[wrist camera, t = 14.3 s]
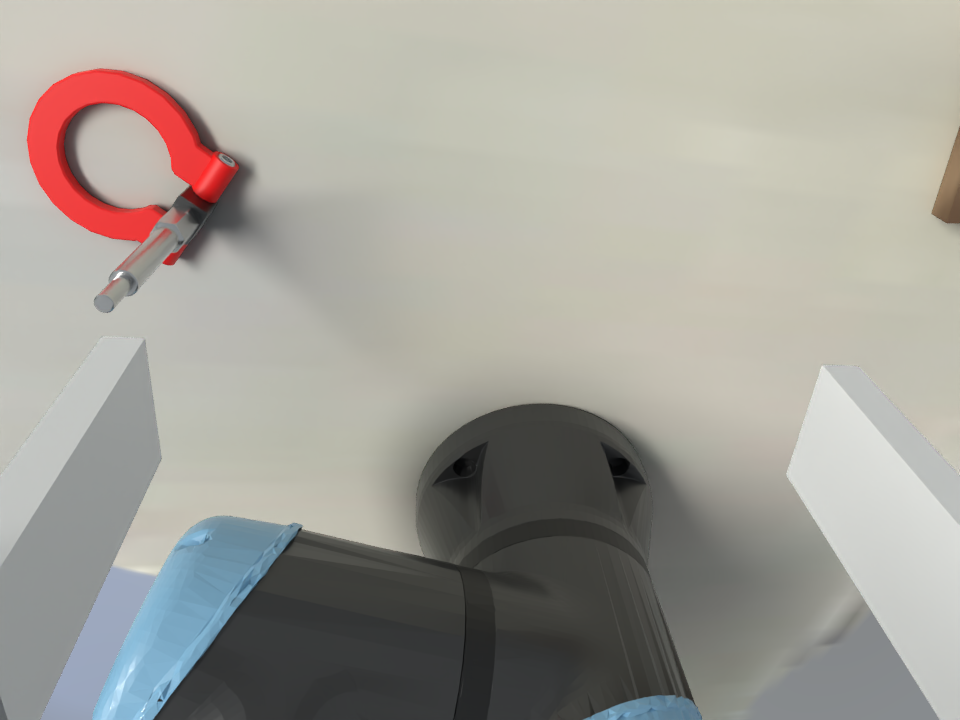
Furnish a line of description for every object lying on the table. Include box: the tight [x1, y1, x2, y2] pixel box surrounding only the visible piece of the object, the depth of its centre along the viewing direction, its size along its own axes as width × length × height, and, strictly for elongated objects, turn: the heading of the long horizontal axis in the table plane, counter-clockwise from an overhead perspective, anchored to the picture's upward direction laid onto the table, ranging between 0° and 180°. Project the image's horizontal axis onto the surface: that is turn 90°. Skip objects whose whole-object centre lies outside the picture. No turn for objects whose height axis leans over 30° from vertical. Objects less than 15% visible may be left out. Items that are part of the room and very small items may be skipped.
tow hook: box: [27, 69, 239, 313], centre depth 36 cm, size 8×13×9 cm
